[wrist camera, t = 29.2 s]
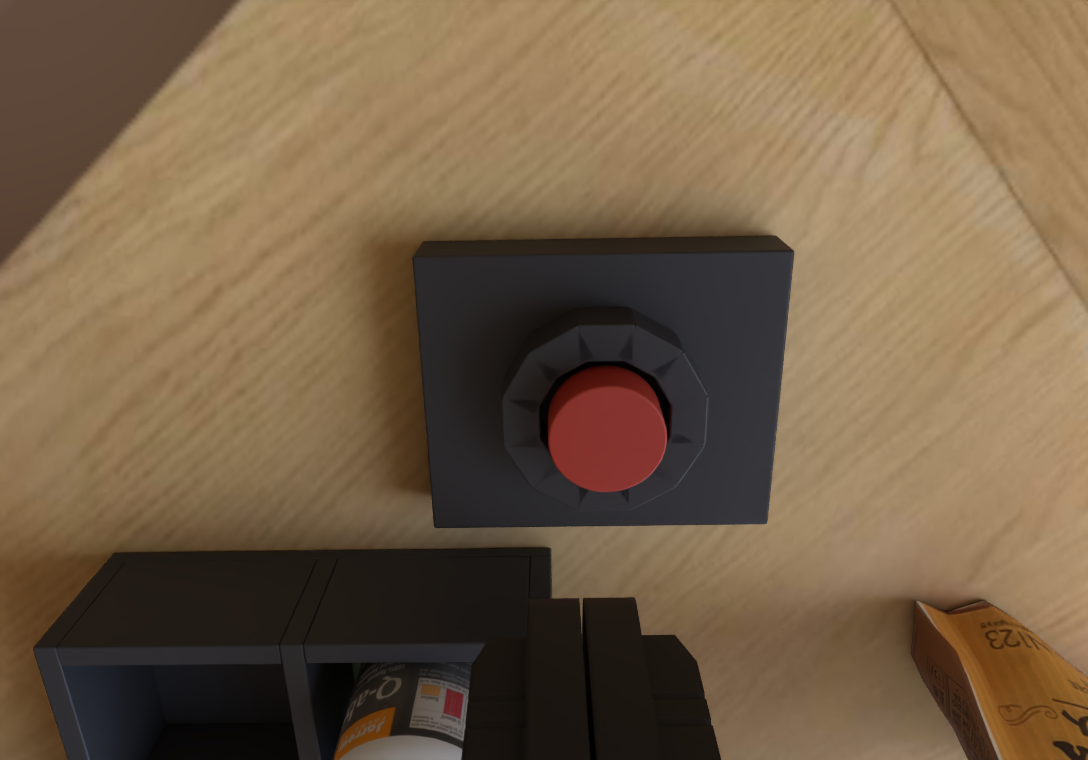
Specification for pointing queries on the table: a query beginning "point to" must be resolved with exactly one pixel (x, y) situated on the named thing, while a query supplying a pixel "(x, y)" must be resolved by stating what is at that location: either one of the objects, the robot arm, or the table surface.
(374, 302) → the table surface
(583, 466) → the button
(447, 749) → the pill bottle
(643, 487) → the block
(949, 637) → the pancake mix bag
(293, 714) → the black divided tray
